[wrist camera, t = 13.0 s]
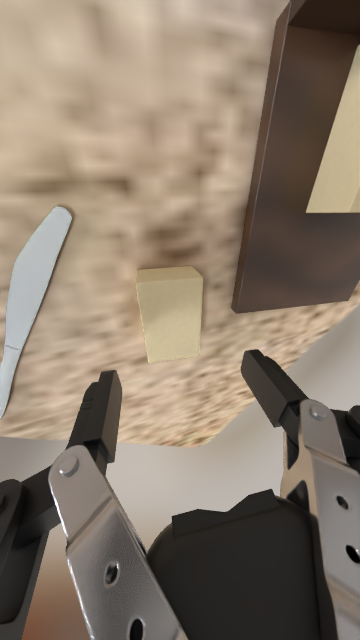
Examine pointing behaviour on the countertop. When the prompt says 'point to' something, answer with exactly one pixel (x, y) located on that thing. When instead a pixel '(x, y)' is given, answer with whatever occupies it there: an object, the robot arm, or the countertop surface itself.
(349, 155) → the beige rectangular block
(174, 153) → the countertop surface
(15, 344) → the butter knife
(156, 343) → the pad
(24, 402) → the countertop surface
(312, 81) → the board
